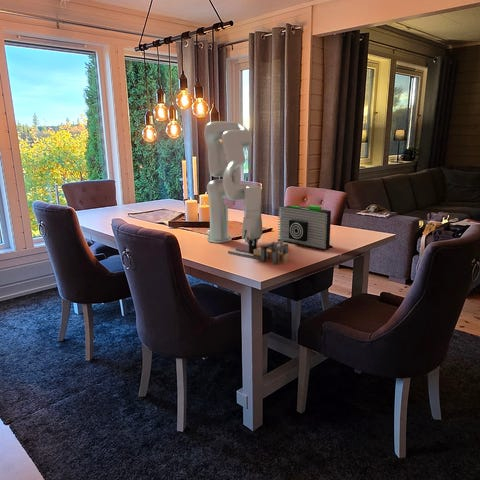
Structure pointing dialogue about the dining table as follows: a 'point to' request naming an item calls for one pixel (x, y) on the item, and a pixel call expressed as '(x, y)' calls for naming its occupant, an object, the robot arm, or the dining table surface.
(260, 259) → the guide
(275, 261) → the collar rig
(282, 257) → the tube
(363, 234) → the dining table surface
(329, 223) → the electronic device
